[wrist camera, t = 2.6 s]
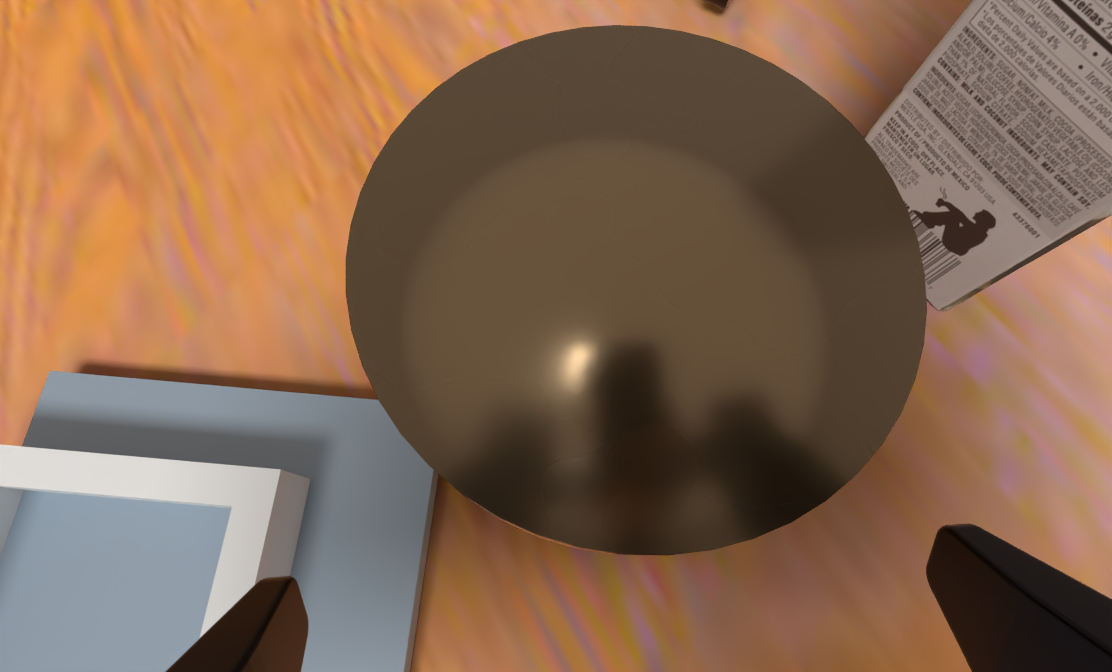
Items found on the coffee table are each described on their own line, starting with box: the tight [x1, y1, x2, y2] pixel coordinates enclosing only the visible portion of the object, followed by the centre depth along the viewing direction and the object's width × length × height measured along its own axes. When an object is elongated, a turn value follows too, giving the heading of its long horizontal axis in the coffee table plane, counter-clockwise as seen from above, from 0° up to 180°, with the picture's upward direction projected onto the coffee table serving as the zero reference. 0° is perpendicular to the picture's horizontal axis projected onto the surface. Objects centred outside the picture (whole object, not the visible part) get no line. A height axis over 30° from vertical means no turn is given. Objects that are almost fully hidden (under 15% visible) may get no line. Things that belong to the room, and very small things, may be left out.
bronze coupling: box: [346, 25, 927, 555], centre depth 13 cm, size 6×6×14 cm
